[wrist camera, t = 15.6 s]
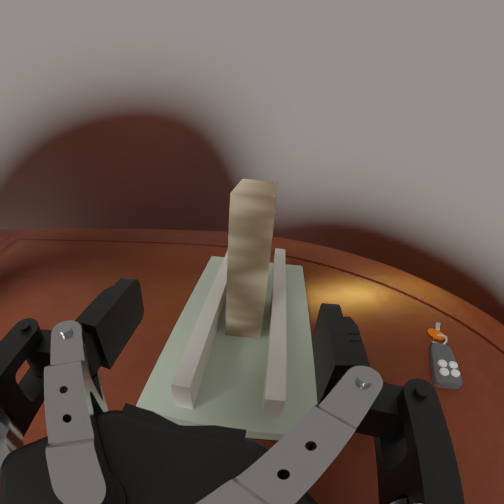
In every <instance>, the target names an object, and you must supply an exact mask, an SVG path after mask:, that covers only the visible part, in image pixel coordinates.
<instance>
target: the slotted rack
mask: <svg viewBox="0 0 504 504" xmlns="http://www.w3.org/2000/svg"><path fill="white" fill-rule="evenodd" d="M227 259H228V250H227V253H226V255H225V257H215V256H212V257H211V258H210V260H209V262H208V264H207V266H206V268H205V270H204V271H203V273H202V275H201V277H200V279H199V281H198V283H197V285H196V286H195V288H194V290H193V292H192V294H191V296H190V298H189V300H188V302H187V304H186V306H185V307H184V309H183V311H182V313H181V315H180V317H179V319H178V321H177V323H176V325H175V327H174V329H173V331H172V333H171V335H170V337H169V339H168V341H167V343H166V345H165V347H164V349H163V351H162V353H161V355H160V357H159V359H158V361H157V363H156V365H155V367H154V369H153V371H152V373H151V375H150V377H149V379H148V381H147V383H146V386H145V388H144V390H143V392H142V394H141V396H140V398H139V400H138V402H137V405H136V407H140V408H143V409H146V410H150V411H153V412H155V413H157V414H158V415H160V416H162V417H164V418H166V419H168V420H170V421H172V422H174V423H176V424H178V425H183V426H202V425H217V426H223V427H229V428H237V429H244V430H246V436H245V437H246V438H256V439H266V440H280V439H281V438H282V437H283V436H284V435H285V434H286V433H287V432H289V431H290V430H291V429H292V428H293V427H294V426H295V425H296V424H297V423H298V421H299V420H300V419H301V418H302V417H303V416H304V415H305V414H306V413H307V412H308V411H309V410H310V409H311V408H312V407H313V406H314V405H317V392H316V380H315V369H314V359H313V349H312V339H311V330H310V321H309V313H308V305H307V297H306V289H305V282H304V275H303V267H302V266H298V265H289V264H285V249H277V248H275V256H274V263H270V262H269V271H268V280H267V288H266V297H265V305H264V314H263V322H262V330H261V338H260V339H254V338H246V337H238V336H231V335H225V324H226V288H227Z"/></svg>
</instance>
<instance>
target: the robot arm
mask: <svg viewBox="0 0 504 504" xmlns="http://www.w3.org/2000/svg"><path fill="white" fill-rule="evenodd" d="M143 313H144V307H143V301H142V295H141V288H140V283H139V281H138V280H136V279H130V278H124V277H123V278H121V279H120V280H119V281H118V282H117V283H116V284H115V285H114V286H111V287H109V288H107V289H105V290H104V291H102V292H101V293H100V294H99V295H98V296H97V299H95V300H94V301H93V302H92V304H90V305H89V306H88V307H87V308H86V309H85V310H84V311H83V313H82V314H81V315H80V316H79V317H78V318H77V319H76V320H75V321H63V322H61V323H59V324H57V325H56V326H55V327H54V328H53V330H42V329H40V327H39V325H38V322H37V321H36V320H35V319H32V318H27V319H23V320H21V321H19V322H18V323H17V324H16V325H15V326H14V327H13V328H12V329H11V330H10V331H9V332H8V334H7V335H6V336H5V337H4V338H3V339H2V340H1V341H0V504H318V503H317V502H316V501H315V500H314V499H313V498H312V497H311V496H310V495H309V494H308V493H307V491H308V490H309V488H310V487H311V486H312V485H313V484H314V483H315V482H316V481H317V479H318V478H319V477H320V476H321V475H322V474H323V472H324V471H325V470H326V469H327V468H328V466H329V465H330V464H331V463H332V462H333V460H334V459H335V458H336V456H337V455H338V454H339V453H340V451H341V450H342V449H343V447H344V446H345V445H346V443H347V442H348V440H349V439H350V438H351V436H352V435H353V433H354V432H357V433H361V434H365V435H370V436H374V442H375V451H376V461H377V473H378V488H379V504H464V497H463V491H462V486H461V480H460V475H459V470H458V466H457V462H456V457H455V453H454V449H453V445H452V442H451V438H450V434H449V431H448V427H447V424H446V421H445V418H444V414H443V411H442V408H441V405H440V402H439V399H438V396H437V394H436V391H435V389H434V387H433V386H432V385H431V384H430V383H428V382H427V381H425V380H422V379H412V380H409V381H408V382H407V383H406V384H405V386H404V387H401V386H397V385H392V384H388V383H385V382H383V380H382V377H381V376H380V374H379V373H378V372H377V371H375V370H374V369H372V368H370V365H369V362H368V359H367V355H366V352H365V349H364V346H363V342H362V339H361V336H360V333H359V330H358V327H357V325H356V323H355V322H354V321H353V320H352V319H351V318H350V317H343V315H342V311H341V308H340V305H337V304H325V303H322V304H321V306H320V310H319V314H318V318H317V322H316V326H315V329H314V334H313V353H314V363H315V373H316V384H317V396H318V405H314V406H313V407H312V408H311V409H310V410H309V411H308V412H307V413H306V414H305V415H304V416H303V417H302V418H301V419H300V420H299V421H298V423H297V424H296V425H295V426H294V427H293V428H292V429H291V430H290V431H289V432H287V433H286V434H285V435H284V436H283V437H282V438H281V439H280V440H279V441H278V442H277V443H276V444H275V445H274V446H273V447H272V448H271V449H268V448H266V447H265V446H263V445H261V444H260V443H258V442H256V441H253V440H251V439H248V438H245V436H246V430H244V429H237V428H229V427H223V426H217V425H202V426H183V425H178V424H176V423H174V422H172V421H170V420H168V419H166V418H164V417H162V416H160V415H158V414H157V413H155V412H153V411H150V410H146V409H143V408H140V407H136V406H133V405H130V404H127V403H126V404H125V406H124V408H123V410H122V411H121V410H113V411H108V408H107V405H106V401H105V397H104V392H103V388H102V383H101V378H100V374H99V371H98V369H99V368H100V366H102V367H105V368H108V369H111V367H112V366H113V364H114V362H115V361H116V359H117V358H118V356H119V354H120V353H121V351H122V350H123V348H124V347H125V345H126V343H127V342H128V340H129V339H130V337H131V336H132V334H133V333H134V331H135V330H136V328H137V327H138V325H139V324H140V322H141V320H142V318H143ZM25 360H27V362H28V364H29V366H30V368H29V370H28V371H27V372H26V374H25V375H24V377H23V378H22V379H21V381H20V382H19V384H17V382H16V379H15V376H16V372H17V371H18V369H19V368H20V366H21V365H22V364H23V362H24V361H25ZM43 401H45V416H46V426H47V435H48V436H47V437H45V438H42V439H40V440H37V441H35V442H32V443H30V444H27V445H24V444H23V443H24V438H23V437H24V435H25V433H26V431H27V430H28V428H29V426H30V424H31V422H32V420H33V419H34V417H35V415H36V413H37V412H38V410H39V408H40V406H41V405H42V403H43Z"/></svg>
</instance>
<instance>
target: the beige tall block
mask: <svg viewBox="0 0 504 504" xmlns="http://www.w3.org/2000/svg"><path fill="white" fill-rule="evenodd" d="M276 195H277V182H271V181H260V180H250V179H242V180H241V182H240V183H239V184H238V185H237V186H236V187H235V188H234V189H233V191H232V192H231V195H230V215H229V235H228V259H227V288H226V324H225V335H231V336H238V337H246V338H254V339H260V338H261V330H262V322H263V314H264V305H265V297H266V288H267V280H268V271H269V262H270V253H271V244H272V235H273V225H274V215H275V206H276Z"/></svg>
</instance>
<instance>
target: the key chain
mask: <svg viewBox="0 0 504 504" xmlns="http://www.w3.org/2000/svg"><path fill="white" fill-rule="evenodd" d="M427 333H428V334H429V335H430V336H431V337H433V339H437V340H444V339H445V342H444V343H443V344H440V343H437V342H434V341H432V342H433V343H432V345H431V347H430V349H429V356H430V365H431V374H432V382H433V384H434V386H436V387H437V388H445V389H459V388H460V387H461V386H462V385H463V383H462V376H461V373H460V370H459V367H458V364H457V362H456V359H455V356H454V353H453V351H452V350H451V348H450V347H449V346H448V345H445V344H446V342H447V337H446V336H445V335H444V334H443V333H442V332H440V323H438V322H437V323H436V328H435V329H432V328H430V329H428V330H427Z"/></svg>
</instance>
